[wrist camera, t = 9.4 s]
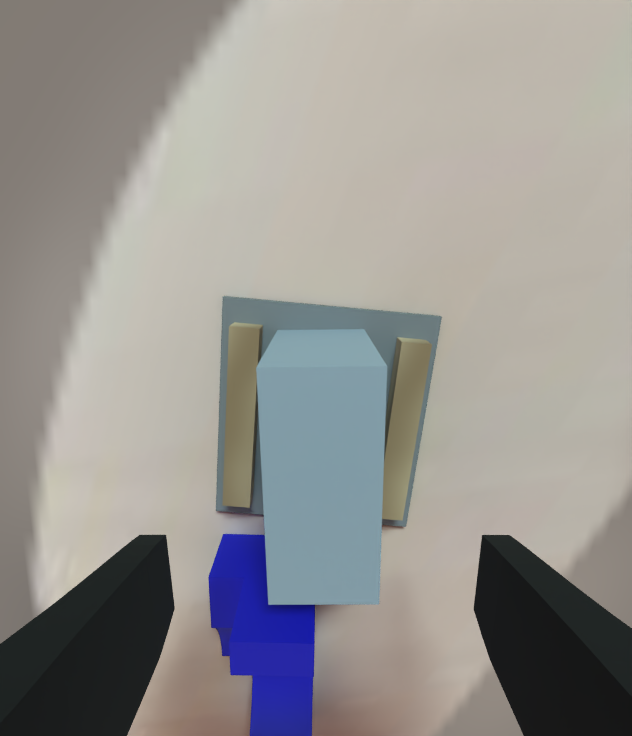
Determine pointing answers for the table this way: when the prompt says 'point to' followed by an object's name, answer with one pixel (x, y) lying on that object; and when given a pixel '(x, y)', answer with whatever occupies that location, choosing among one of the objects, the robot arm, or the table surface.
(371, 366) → the bar
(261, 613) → the cable clip
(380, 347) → the guide mat
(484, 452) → the table surface
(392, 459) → the guide rails
